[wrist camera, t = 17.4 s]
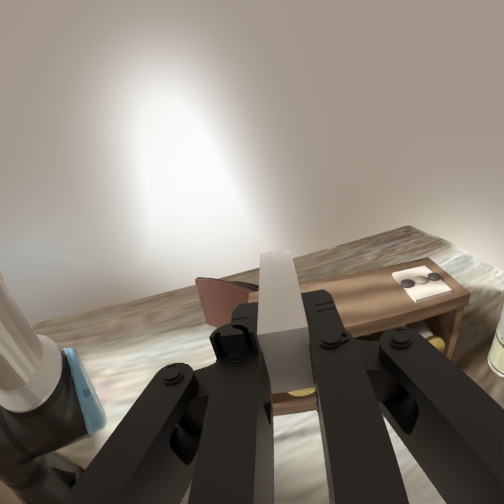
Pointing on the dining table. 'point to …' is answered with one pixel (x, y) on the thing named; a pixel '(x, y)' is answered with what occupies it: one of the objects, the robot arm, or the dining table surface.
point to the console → (387, 309)
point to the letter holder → (222, 298)
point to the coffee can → (498, 348)
